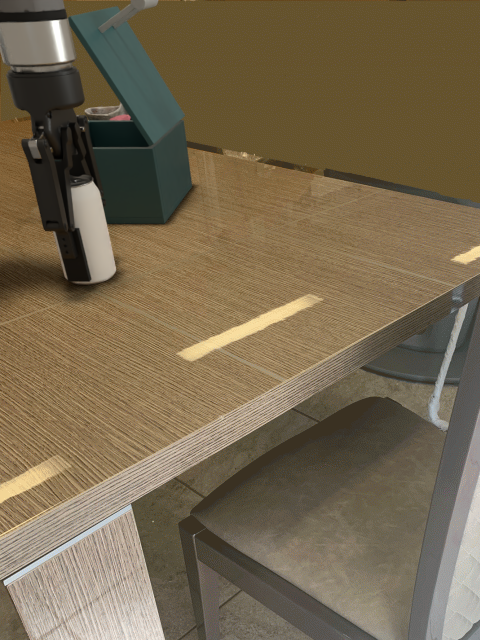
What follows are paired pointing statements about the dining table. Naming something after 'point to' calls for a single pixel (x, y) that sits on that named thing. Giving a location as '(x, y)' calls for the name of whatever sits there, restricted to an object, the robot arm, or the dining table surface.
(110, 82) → the cooler lid
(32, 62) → the robot arm
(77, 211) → the can
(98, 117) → the mug
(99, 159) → the cooler
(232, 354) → the dining table surface
